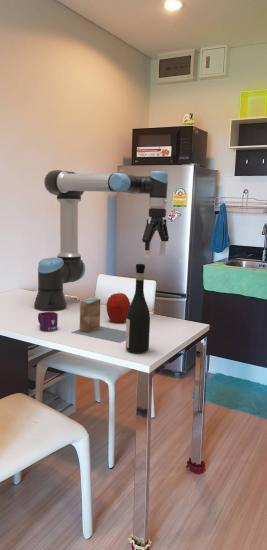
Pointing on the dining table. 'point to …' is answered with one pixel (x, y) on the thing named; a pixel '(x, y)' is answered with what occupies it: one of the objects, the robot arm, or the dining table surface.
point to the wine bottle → (138, 317)
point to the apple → (118, 307)
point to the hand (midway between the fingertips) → (155, 256)
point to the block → (89, 315)
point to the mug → (48, 321)
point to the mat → (105, 334)
